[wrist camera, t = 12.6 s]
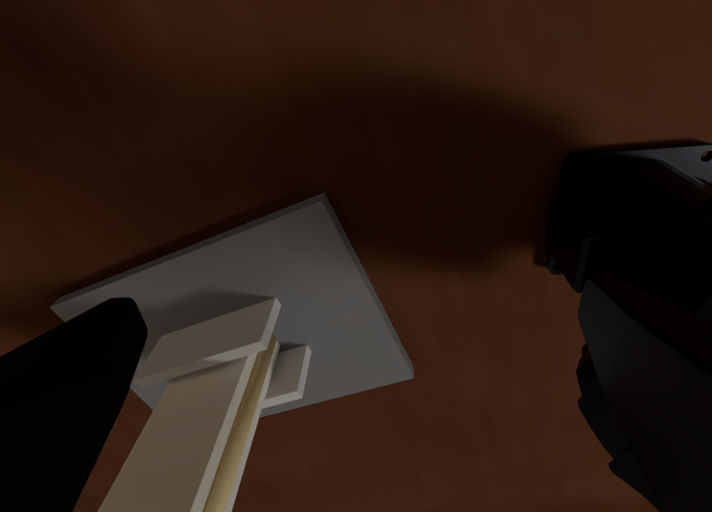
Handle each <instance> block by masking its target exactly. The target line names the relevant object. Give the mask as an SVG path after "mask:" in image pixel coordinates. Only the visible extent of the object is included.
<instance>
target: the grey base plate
mask: <svg viewBox="0 0 712 512" xmlns="http://www.w3.org/2000/svg"><path fill="white" fill-rule="evenodd" d="M119 297H130V298H132V299H133V300H134V301H135V302H136V304H137V306H138V308H139V310H140V313H141V315H142V317H143V319H144V321H145V323H146V326H147V329H148V337H147V341H146V343H145V346H144V349H143V352H142V355H141V358H140V360H139V363H138V366H137V369H136V372H135V374H134V377H133V380H132V383H131V386H130V388H131V389H132V390H133V391H134V392H135V393H136V394H137V395H138V396H139V397H140V398H141V399H142V400H143V401H144V402H145V403H146V404H147V405H148V406H149V407H150V408H151V409H152V410H154V409H155V407H156V405H157V403H158V401H159V400H160V398H161V396H162V394H163V392H164V390H165V389H166V387H167V385H168V383H169V381H170V380H171V378H174V377H177V376H181V375H184V374H187V373H191V372H194V371H197V370H201V369H204V368H207V367H211V366H214V365H217V364H220V363H224V362H227V361H230V360H234V359H237V358H240V357H244V356H247V355H250V354H254V353H257V352H260V351H263V350H267V347H268V344H269V341H270V338H271V335H272V333H273V334H274V335H276V337H277V341H278V343H279V344H280V348H279V351H278V355H277V358H276V362H275V365H274V368H273V372H272V375H271V379H270V382H269V385H268V389H267V392H266V396H265V399H264V402H263V406H262V409H261V413H260V416H259V418H260V417H263V416H267V415H271V414H275V413H279V412H283V411H287V410H291V409H295V408H299V407H303V406H306V405H310V404H314V403H318V402H322V401H326V400H330V399H334V398H338V397H342V396H345V395H349V394H353V393H357V392H361V391H365V390H369V389H373V388H377V387H381V386H385V385H388V384H392V383H396V382H400V381H404V380H408V379H412V378H414V370H413V365H412V363H411V361H410V359H409V357H408V355H407V353H406V351H405V349H404V347H403V345H402V343H401V341H400V339H399V337H398V335H397V333H396V331H395V329H394V327H393V326H392V324H391V322H390V320H389V318H388V316H387V314H386V312H385V310H384V308H383V306H382V304H381V302H380V300H379V298H378V296H377V294H376V292H375V290H374V288H373V286H372V284H371V282H370V281H369V279H368V277H367V275H366V273H365V271H364V269H363V267H362V265H361V263H360V261H359V259H358V257H357V255H356V253H355V251H354V249H353V247H352V245H351V243H350V241H349V239H348V237H347V235H346V234H345V232H344V230H343V228H342V226H341V224H340V222H339V220H338V218H337V216H336V214H335V212H334V210H333V208H332V206H331V204H330V202H329V200H328V198H327V196H326V194H325V192H324V193H321V194H319V195H316V196H314V197H311V198H309V199H306V200H304V201H301V202H299V203H296V204H294V205H291V206H289V207H286V208H284V209H281V210H279V211H276V212H274V213H271V214H269V215H266V216H263V217H261V218H258V219H256V220H253V221H251V222H248V223H246V224H243V225H241V226H238V227H236V228H233V229H231V230H228V231H226V232H223V233H221V234H218V235H216V236H213V237H211V238H208V239H206V240H203V241H200V242H198V243H195V244H193V245H190V246H188V247H185V248H183V249H180V250H178V251H175V252H173V253H170V254H168V255H165V256H163V257H160V258H158V259H155V260H153V261H150V262H148V263H145V264H142V265H140V266H137V267H135V268H132V269H130V270H127V271H125V272H122V273H120V274H117V275H115V276H112V277H110V278H107V279H105V280H102V281H100V282H97V283H95V284H92V285H90V286H87V287H85V288H82V289H79V290H77V291H74V292H72V293H69V294H67V295H64V296H62V297H60V298H59V299H58V300H57V301H56V302H55V303H54V304H53V305H52V306H50V308H51V309H52V310H53V311H54V312H55V313H56V314H57V315H58V316H59V317H60V318H61V319H62V320H63V321H64V322H66V321H68V320H70V319H72V318H74V317H76V316H78V315H80V314H81V313H83V312H85V311H87V310H89V309H91V308H93V307H95V306H96V305H98V304H100V303H102V302H104V301H106V300H108V299H110V298H119Z"/></svg>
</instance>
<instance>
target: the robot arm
mask: <svg viewBox="0 0 712 512" xmlns="http://www.w3.org/2000/svg"><path fill="white" fill-rule="evenodd" d="M706 151H708V154H707V155H706V156H705V157H704V158H702V159H701V156H702V154H703V153H705V152H706ZM576 160H579V164H578V165H577V166H576V167H573V168H571V164H572V163H573V162H574V161H576ZM711 178H712V144H711V143H706V142H704V143H690V144H676V145H663V146H649V147H635V148H621V149H607V150H593V151H579V152H572V153H570V154H568V155H567V156H566V157H565V158H564V160H563V163H562V168H561V174H560V180H559V186H558V192H557V196H555V197H554V198H553V200H552V201H551V204H550V211H549V217H548V223H547V230H546V236H545V246H546V248H547V249H548V254H547V260H546V267H547V268H548V270H549V271H550V273H552V274H555V275H561V274H564V276H565V278H566V279H567V281H568V282H569V284H570V286H571V287H572V288H573V289H574V290H575V291H576V292H577V293H582V297H581V301H580V306H579V311H578V318H579V323H580V326H581V329H582V332H583V335H584V338H585V341H586V344H585V345H584V346H583V347H582V357H581V358H580V360H579V364H578V367H577V371H576V374H577V378H578V383H579V387H580V391H581V394H582V396H581V397H580V398H579V400H578V405H579V408H580V411H581V412H582V414H583V416H584V417H585V419H586V421H587V422H588V424H589V426H590V428H591V429H592V430H593V432H594V433H595V435H596V437H597V438H598V439H599V441H600V442H601V444H602V445H603V447H604V448H605V449H606V450H607V452H608V453H609V454H610V455H611V456H612V457H613V458H614V459H613V460H612V461H611V462H610V463H609V468H610V470H611V471H612V472H613V473H614V474H615V475H617V476H618V477H619V478H621V479H622V480H623V481H624V482H626V483H627V484H628V485H630V486H631V487H632V488H634V489H635V490H636V491H637V492H639V493H640V494H641V495H643V496H644V497H645V498H646V499H647V500H648V501H649V502H650V503H651V504H652V505H653V506H654V507H655V508H656V509H657V510H658V511H659V512H712V183H710V181H711ZM556 263H557V265H558V266H556V267H554V265H555V264H556ZM147 337H148V329H147V326H146V323H145V321H144V319H143V317H142V315H141V313H140V310H139V308H138V306H137V304H136V302H135V301H134V300H133V299H132V298H130V297H119V298H110V299H108V300H106V301H104V302H102V303H100V304H98V305H96V306H95V307H93V308H91V309H89V310H87V311H85V312H83V313H81V314H80V315H78V316H76V317H74V318H72V319H70V320H68V321H66V322H65V323H63V324H61V325H59V326H57V327H55V328H53V329H51V330H50V331H48V332H46V333H44V334H42V335H40V336H38V337H36V338H35V339H33V340H31V341H29V342H27V343H25V344H23V345H21V346H20V347H18V348H16V349H14V350H12V351H10V352H8V353H6V354H5V355H3V356H1V357H0V512H73V510H74V508H75V506H76V504H77V502H78V499H79V497H80V495H81V493H82V491H83V489H84V487H85V485H86V483H87V481H88V478H89V476H90V474H91V472H92V470H93V468H94V466H95V464H96V462H97V460H98V457H99V455H100V453H101V451H102V449H103V447H104V445H105V443H106V441H107V438H108V436H109V434H110V432H111V430H112V428H113V426H114V424H115V422H116V420H117V417H118V415H119V413H120V411H121V409H122V406H123V404H124V402H125V399H126V396H127V394H128V391H129V388H130V386H131V383H132V380H133V377H134V374H135V372H136V369H137V366H138V363H139V360H140V358H141V355H142V352H143V349H144V346H145V343H146V341H147Z"/></svg>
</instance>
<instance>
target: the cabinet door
mask: <svg viewBox="0 0 712 512" xmlns="http://www.w3.org/2000/svg"><path fill="white" fill-rule="evenodd" d="M279 348H280V344H279V343H278V341H277V337H276V335H274V334H273V333H272V335H271V338H270V341H269V344H268V347H267V350H263V351H260V352H257V353H254V354H250V355H247V356H244V357H240V358H237V359H234V360H230V361H227V362H224V363H220V364H217V365H214V366H211V367H207V368H204V369H201V370H197V371H194V372H191V373H187V374H184V375H181V376H177V377H174V378H171V380H170V381H169V383H168V385H167V387H166V389H165V390H164V392H163V394H162V396H161V398H160V400H159V401H158V403H157V405H156V407H155V409H154V410H153V412H152V414H151V416H150V418H149V420H148V421H147V423H146V425H145V427H144V429H143V430H142V432H141V434H140V436H139V438H138V440H137V441H136V443H135V445H134V447H133V449H132V450H131V452H130V454H129V456H128V458H127V460H126V461H125V463H124V465H123V467H122V469H121V470H120V472H119V474H118V476H117V478H116V480H115V481H114V483H113V485H112V487H111V489H110V490H109V492H108V494H107V496H106V498H105V500H104V501H103V503H102V505H101V507H100V509H99V510H98V512H231V511H232V508H233V505H234V501H235V498H236V494H237V491H238V488H239V484H240V481H241V477H242V474H243V471H244V467H245V464H246V460H247V457H248V454H249V450H250V447H251V443H252V440H253V436H254V433H255V430H256V426H257V423H258V419H259V416H260V413H261V409H262V406H263V402H264V399H265V396H266V392H267V389H268V385H269V382H270V379H271V375H272V372H273V368H274V365H275V362H276V358H277V355H278V351H279Z"/></svg>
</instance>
